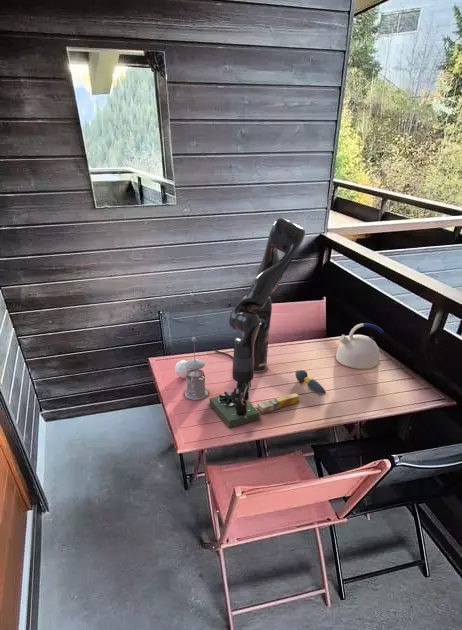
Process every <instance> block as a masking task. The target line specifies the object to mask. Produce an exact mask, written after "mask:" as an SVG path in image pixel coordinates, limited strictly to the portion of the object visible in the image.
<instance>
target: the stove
mask: <svg viewBox="0 0 462 630" xmlns="http://www.w3.org/2000/svg"><path fill="white" fill-rule="evenodd" d="M227 393H228V392H227ZM228 394H232V392H229V393H228ZM245 401H246V402H247V413H246V414H245V415H242V416H241V415H237V414H236V406H235V407H226V406H223V405H221V404H220V403H219V395H216V396H213V397H209V401H208V402H209V406H210V407H211V408H212V409H213V410H214V411H215V413H216V414H217V415H218V417H220V418H221V420H222V421H223V423H225V424H226V426H227V427H228V428H233V427H237V426H240V425H244V424H247V423H250V422H254V421H258V420H260V418H261V411H260V410H259V409H258V408H256V407H255V406H254V405H253V404H252V403H251V402H250V401H249V399H248V400H245Z"/></svg>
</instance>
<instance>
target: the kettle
mask: <svg viewBox="0 0 462 630" xmlns="http://www.w3.org/2000/svg"><path fill="white" fill-rule="evenodd" d="M362 327H365V328H367V327H368V328H371V329H374V330H377V331H378V332H379V333H380V334H384V333H385V331H384V330H383V329H382V328H381V327H380V326H378V325H375V324H373V323H367V322H365V323H364V322H363V323H359V324H356V325H355V326H353V328H351V329H350V331H349V333H348V337H347V336H346V335H345V334H341V336H339V337H338V341H339V342H340V344H339V346H338V347H337V351H336V354H335V359H336V361H337V362H338V363H339V364H341V365H342V366H345V367H348V368H351V369H357V370H368V369H372V368H374V367H376V366H378V365H379V363H380V355H381V354H380V353H381V352H380V348H379V346H378V344H377V343H376V341H375V338H374V337H373V336H367V335H364V334H354V333H355V332H356V331H357V330H358V329H360V328H362Z"/></svg>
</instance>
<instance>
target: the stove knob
mask: <svg viewBox="0 0 462 630" xmlns="http://www.w3.org/2000/svg"><path fill="white" fill-rule="evenodd" d="M246 413H247V402H246V401H245V400H243V402H242V411H241V412H239V411H236V414H237V415H241V416H242V415H245V414H246Z"/></svg>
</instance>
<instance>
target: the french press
mask: <svg viewBox="0 0 462 630" xmlns="http://www.w3.org/2000/svg"><path fill="white" fill-rule="evenodd" d="M196 341H197V338H196V337H192V338H191V342H196ZM195 345H196V344H193V355H194V356H193V357H194V358H192V359H189V360H186V361H187V362H186V363H185V366H186V367H187V373H186V374H187V375H186V378H185V383H186V384H185V385H186V390H185V392H184V397H185V398H187V399H189V400H193V401H199V400H203V399H205V398H207V397H208V394H209V392H208V391H207V390H206V375H205V371H204V370H202V369H203V368H204V367H205V365H206V362H204V360H201V359H198V358H196V348H195V347H196V346H195ZM188 368H189V369H192V370H189V371H188Z"/></svg>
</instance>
